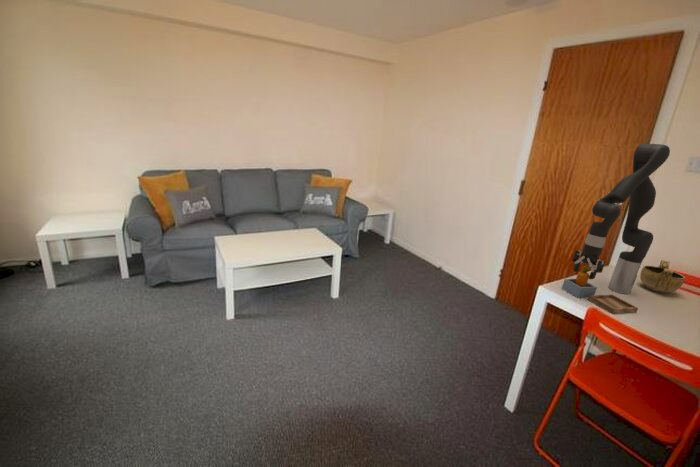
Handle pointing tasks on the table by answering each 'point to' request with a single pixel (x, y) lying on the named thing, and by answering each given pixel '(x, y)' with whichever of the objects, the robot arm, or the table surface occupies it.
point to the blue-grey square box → (578, 289)
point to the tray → (612, 304)
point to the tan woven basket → (661, 278)
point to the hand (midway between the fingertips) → (583, 275)
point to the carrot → (582, 277)
